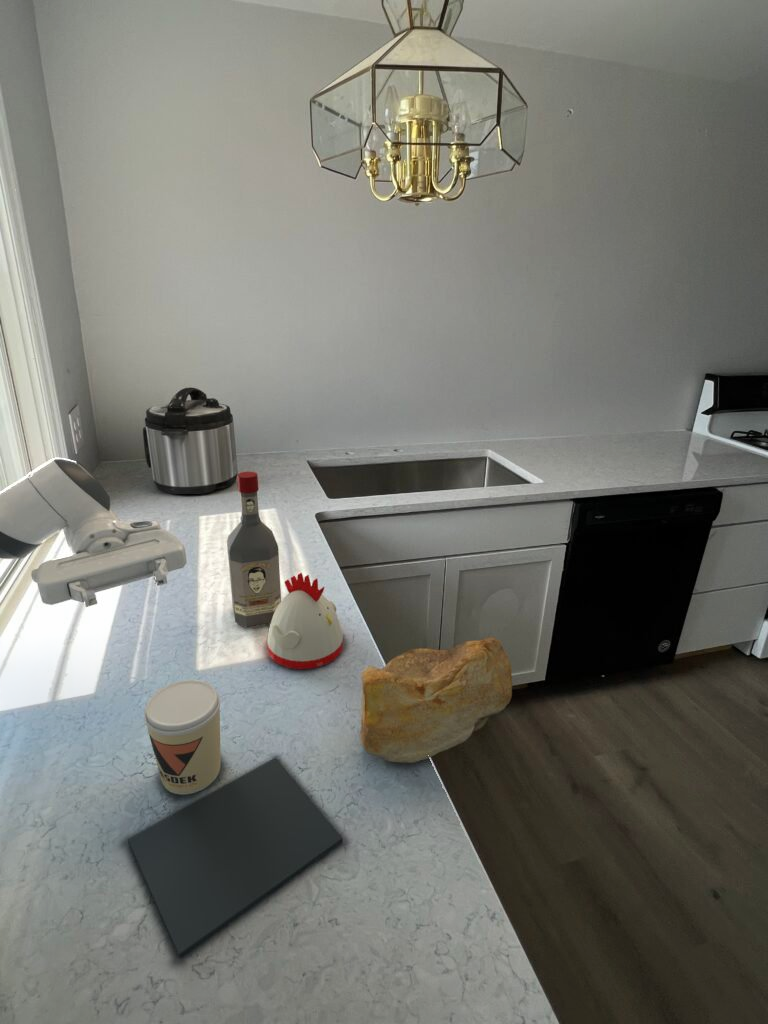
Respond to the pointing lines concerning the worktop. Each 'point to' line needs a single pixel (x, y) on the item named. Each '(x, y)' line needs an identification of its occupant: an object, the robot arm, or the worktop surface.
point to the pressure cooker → (190, 444)
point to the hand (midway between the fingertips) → (127, 590)
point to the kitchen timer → (304, 627)
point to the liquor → (253, 561)
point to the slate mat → (230, 851)
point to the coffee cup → (185, 735)
